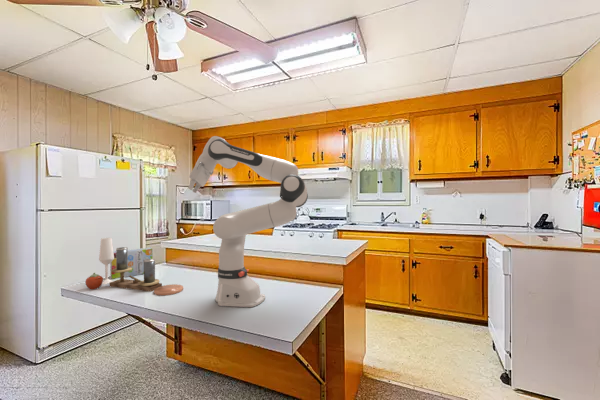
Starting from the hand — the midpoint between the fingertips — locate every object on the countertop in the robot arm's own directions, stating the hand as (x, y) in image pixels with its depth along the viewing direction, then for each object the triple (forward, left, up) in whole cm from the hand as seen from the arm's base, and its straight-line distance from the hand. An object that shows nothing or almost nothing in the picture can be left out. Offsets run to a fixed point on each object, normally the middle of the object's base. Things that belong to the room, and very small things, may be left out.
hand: (191, 190), depth 140 cm
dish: (+11, +3, -49) cm, 51 cm away
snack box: (+53, -14, -50) cm, 74 cm away
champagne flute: (+53, +2, -50) cm, 73 cm away
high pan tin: (+41, +3, -41) cm, 58 cm away
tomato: (+50, +11, -50) cm, 72 cm away
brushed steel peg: (+23, +3, -46) cm, 52 cm away
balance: (+32, +3, -49) cm, 59 cm away
